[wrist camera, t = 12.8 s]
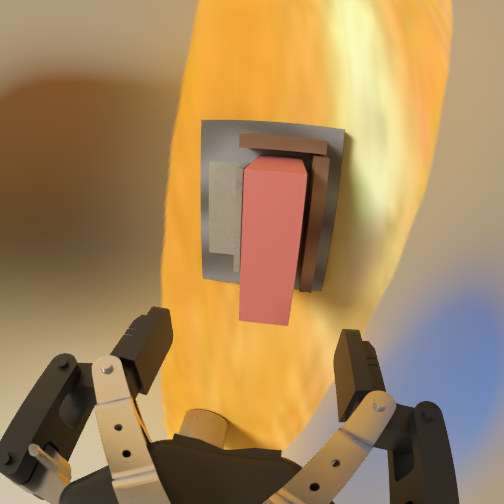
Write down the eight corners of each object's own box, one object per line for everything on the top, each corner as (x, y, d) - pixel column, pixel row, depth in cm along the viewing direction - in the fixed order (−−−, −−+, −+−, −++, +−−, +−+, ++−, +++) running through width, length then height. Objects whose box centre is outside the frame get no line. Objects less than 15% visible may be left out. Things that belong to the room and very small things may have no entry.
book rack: (320, 284, 33) (324, 311, 29) (206, 272, 35) (192, 297, 30) (342, 129, 26) (353, 130, 21) (205, 120, 27) (188, 119, 22)
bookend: (245, 254, 31) (239, 272, 28) (210, 250, 32) (200, 267, 28) (249, 162, 27) (243, 168, 23) (210, 161, 27) (198, 166, 24)
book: (301, 157, 26) (307, 174, 17) (290, 267, 31) (287, 325, 22) (260, 154, 27) (244, 169, 18) (254, 264, 32) (238, 320, 23)
